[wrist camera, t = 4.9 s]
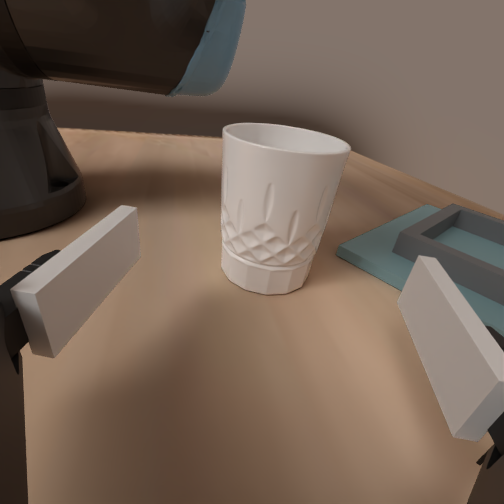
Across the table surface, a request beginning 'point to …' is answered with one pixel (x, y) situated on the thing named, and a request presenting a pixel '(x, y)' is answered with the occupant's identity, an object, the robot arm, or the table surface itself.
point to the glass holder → (440, 254)
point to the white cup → (276, 202)
